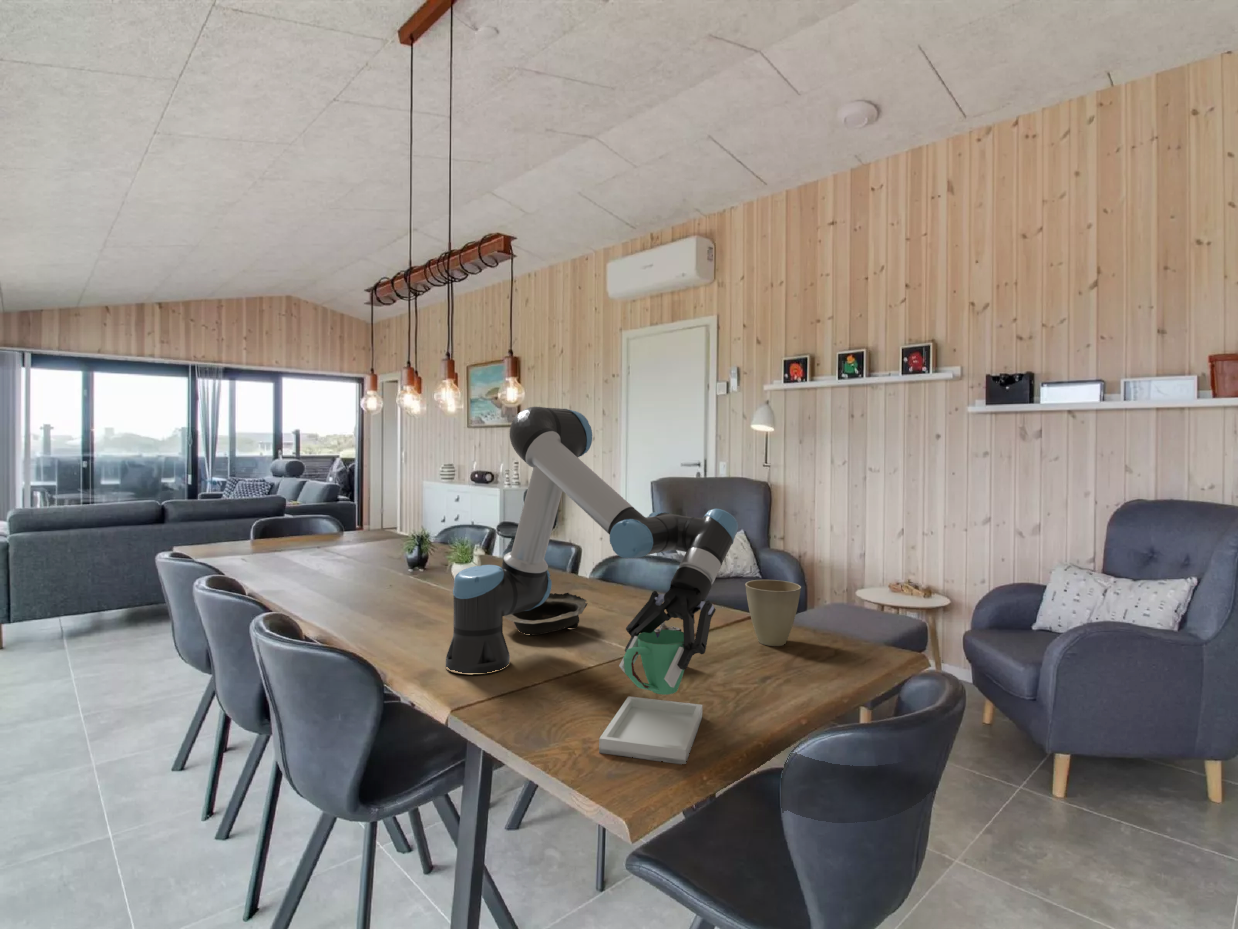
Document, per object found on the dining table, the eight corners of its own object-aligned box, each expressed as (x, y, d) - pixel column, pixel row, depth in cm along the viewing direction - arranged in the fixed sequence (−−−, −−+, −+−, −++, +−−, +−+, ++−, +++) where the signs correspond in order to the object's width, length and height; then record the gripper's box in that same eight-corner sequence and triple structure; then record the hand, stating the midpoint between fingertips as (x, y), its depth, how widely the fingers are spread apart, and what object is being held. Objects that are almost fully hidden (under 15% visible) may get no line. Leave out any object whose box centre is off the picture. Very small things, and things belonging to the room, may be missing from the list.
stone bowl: (592, 620, 197) (593, 591, 196) (579, 651, 172) (580, 617, 172) (514, 616, 200) (514, 587, 199) (490, 646, 175) (490, 613, 174)
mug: (662, 677, 126) (661, 626, 126) (701, 689, 119) (700, 636, 119) (608, 697, 116) (607, 642, 116) (647, 712, 109) (646, 653, 109)
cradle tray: (599, 752, 110) (599, 738, 110) (628, 708, 129) (628, 696, 129) (685, 764, 106) (685, 749, 106) (702, 717, 125) (702, 704, 125)
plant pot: (733, 638, 179) (734, 582, 179) (774, 632, 186) (775, 578, 186) (769, 653, 166) (769, 592, 166) (811, 646, 173) (812, 587, 173)
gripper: (751, 595, 122) (706, 702, 110) (658, 580, 136) (608, 673, 124) (737, 571, 117) (688, 680, 106) (642, 558, 132) (590, 652, 120)
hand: (645, 676), depth 115 cm, fingers closed on mug, 10 cm apart
